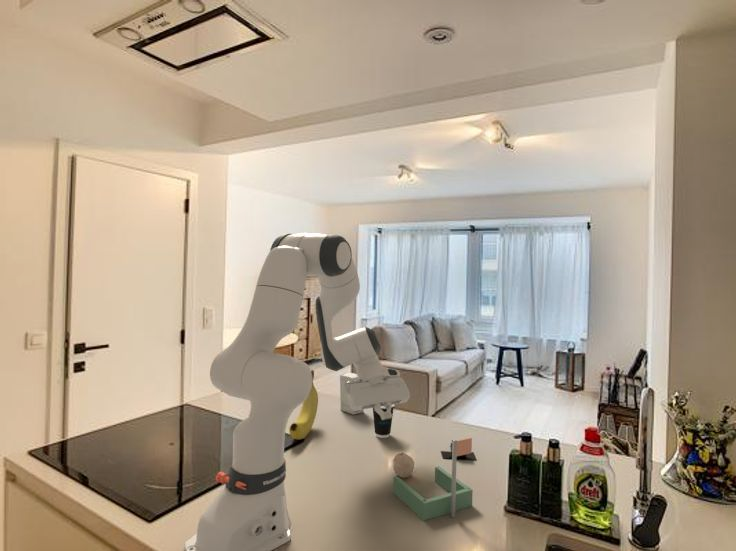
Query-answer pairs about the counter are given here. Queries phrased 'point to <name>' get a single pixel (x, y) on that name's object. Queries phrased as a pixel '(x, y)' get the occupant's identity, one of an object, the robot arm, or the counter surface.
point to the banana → (305, 415)
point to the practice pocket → (457, 490)
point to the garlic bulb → (403, 465)
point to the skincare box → (343, 395)
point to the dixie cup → (382, 423)
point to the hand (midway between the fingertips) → (387, 418)
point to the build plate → (467, 457)
